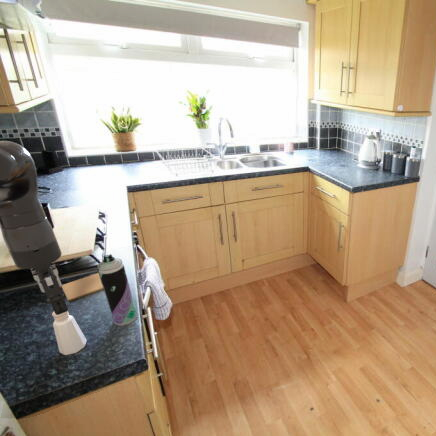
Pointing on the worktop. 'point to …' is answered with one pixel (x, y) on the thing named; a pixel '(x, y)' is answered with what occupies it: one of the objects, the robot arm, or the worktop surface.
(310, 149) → the worktop surface
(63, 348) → the pepper shaker
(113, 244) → the worktop surface
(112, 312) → the spray can
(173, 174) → the worktop surface
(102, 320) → the worktop surface
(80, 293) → the cork mat
